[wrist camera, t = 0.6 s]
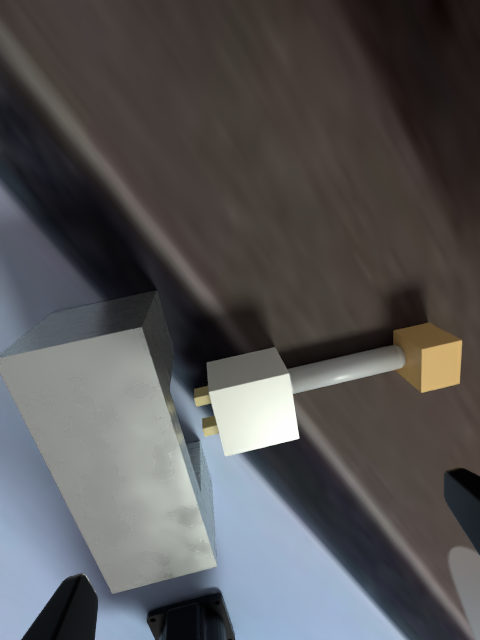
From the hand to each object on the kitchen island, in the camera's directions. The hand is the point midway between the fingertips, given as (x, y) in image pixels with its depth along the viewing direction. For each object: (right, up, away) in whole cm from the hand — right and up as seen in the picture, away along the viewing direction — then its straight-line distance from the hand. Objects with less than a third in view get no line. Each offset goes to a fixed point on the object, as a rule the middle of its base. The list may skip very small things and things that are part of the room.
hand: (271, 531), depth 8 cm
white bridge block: (-7, -1, +14) cm, 15 cm away
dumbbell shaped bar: (+4, +2, +14) cm, 15 cm away
